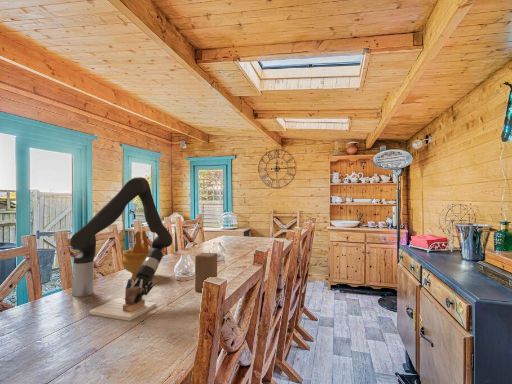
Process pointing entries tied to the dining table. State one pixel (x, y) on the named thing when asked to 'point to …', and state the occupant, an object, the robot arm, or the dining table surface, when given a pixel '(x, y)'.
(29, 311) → the dining table surface
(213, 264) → the wooden block
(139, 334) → the dining table surface
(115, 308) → the board
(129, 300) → the block
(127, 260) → the mustard brown vase
